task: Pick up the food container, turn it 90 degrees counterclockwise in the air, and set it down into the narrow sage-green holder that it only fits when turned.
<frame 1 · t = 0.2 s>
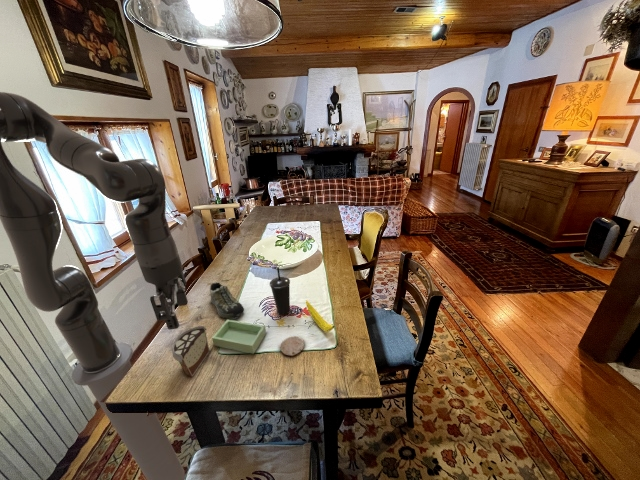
hand: (179, 315, 61), 26 cm above the table, tool pointing down, fingers open, 8 cm apart
flatbread: (292, 347, 84), on the table
hiking shoe: (226, 307, 104), on the table
drinking cup: (283, 311, 101), on the table
holder: (240, 339, 88), on the table
banana: (319, 324, 93), on the table
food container: (192, 362, 80), on the table
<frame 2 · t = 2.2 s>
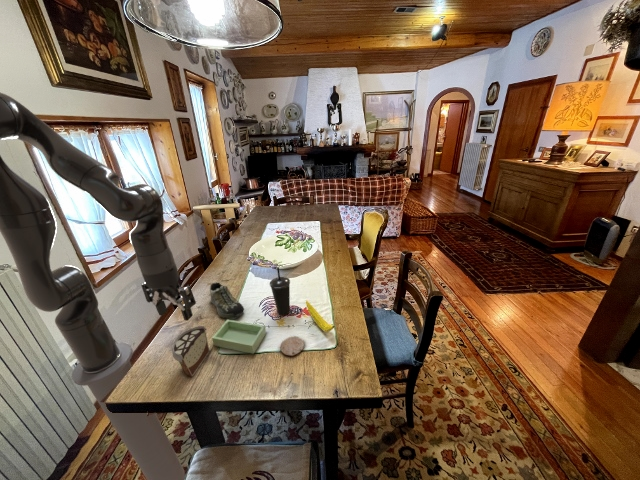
hand: (176, 316, 71), 20 cm above the table, tool pointing down, fingers open, 8 cm apart
nothing on the table moved.
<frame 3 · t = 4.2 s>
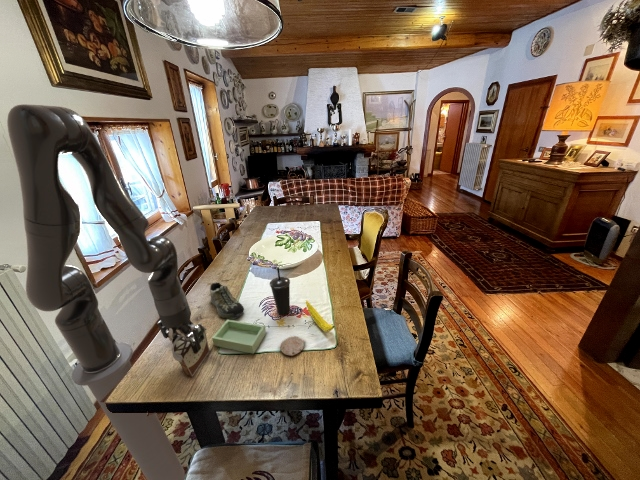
hand: (188, 349, 78), 6 cm above the table, tool pointing down, fingers closed on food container, 6 cm apart
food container: (192, 362, 80), on the table, touching gripper
everything else where it was.
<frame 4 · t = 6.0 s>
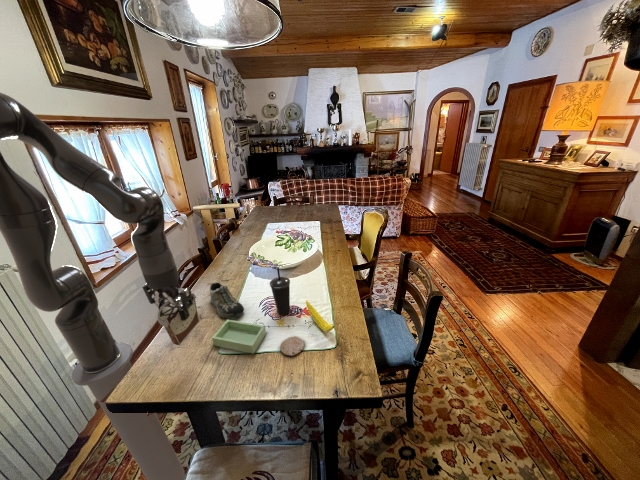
hand: (175, 316, 72), 19 cm above the table, tool pointing down, fingers closed on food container, 6 cm apart
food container: (180, 332, 75), point 13 cm above the table, touching gripper
everything else where it was.
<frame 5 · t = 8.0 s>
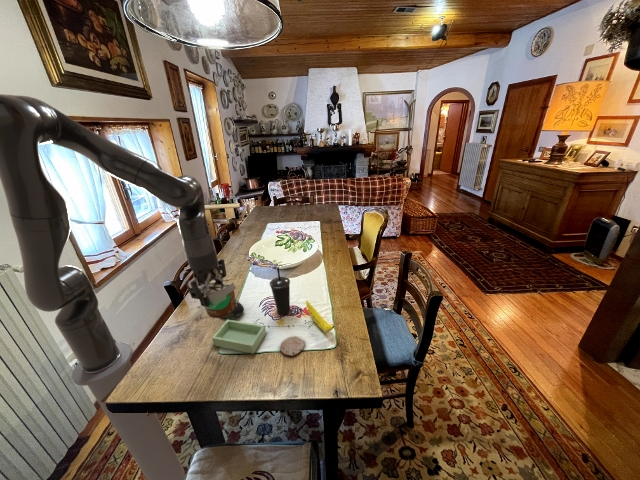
hand: (214, 298, 77), 20 cm above the table, tool pointing down, fingers closed on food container, 6 cm apart
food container: (218, 314, 79), point 14 cm above the table, touching gripper
everything else where it was.
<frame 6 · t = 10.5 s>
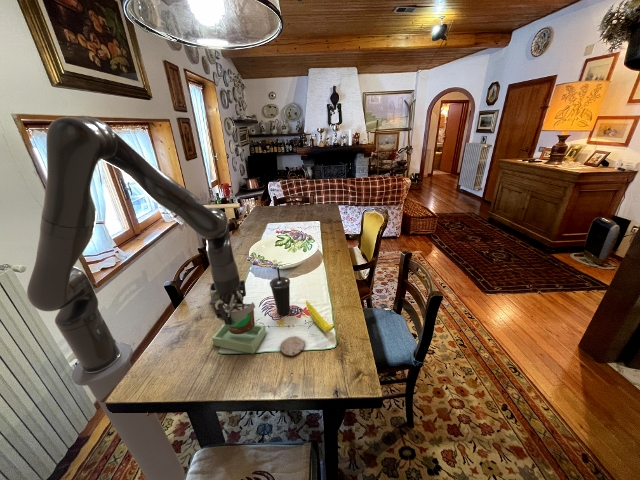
hand: (235, 316, 84), 10 cm above the table, tool pointing down, fingers closed on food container, 6 cm apart
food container: (238, 330, 86), point 4 cm above the table, touching gripper
everything else where it was.
when the fingers open (6 cm above the table, at t = 12.2 s): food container stays where it is, resting on holder.
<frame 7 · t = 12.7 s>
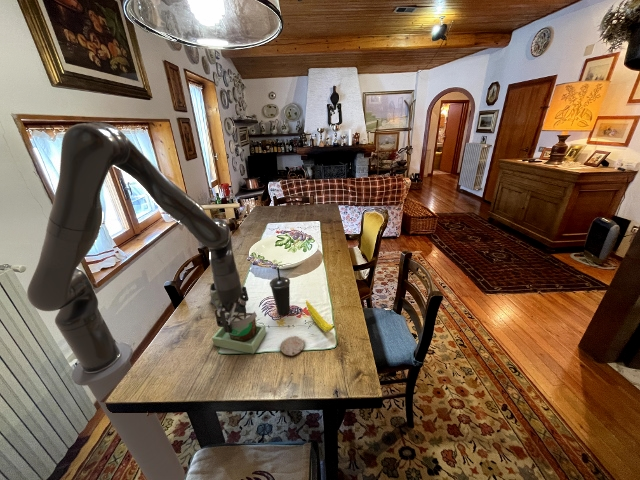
hand: (236, 322, 85), 7 cm above the table, tool pointing down, fingers open, 8 cm apart
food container: (240, 339, 88), resting on holder
everything else where it was.
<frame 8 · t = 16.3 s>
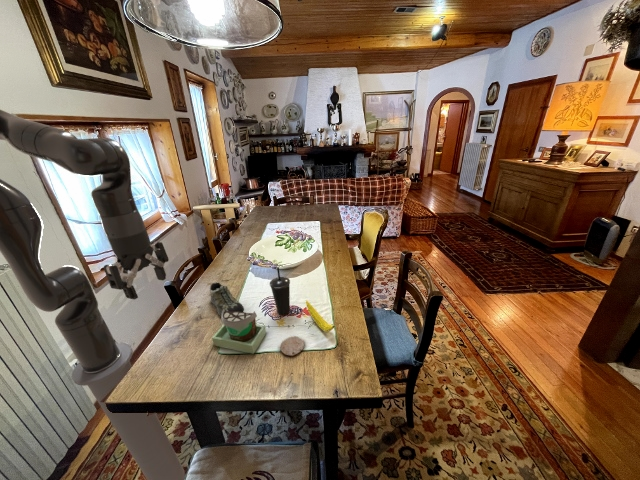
hand: (148, 288, 66), 30 cm above the table, tool pointing down, fingers open, 8 cm apart
nothing on the table moved.
at the end: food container 0.2 cm off-centre in the holder, point 0.3 cm above the holder's base; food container tilted 0° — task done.
